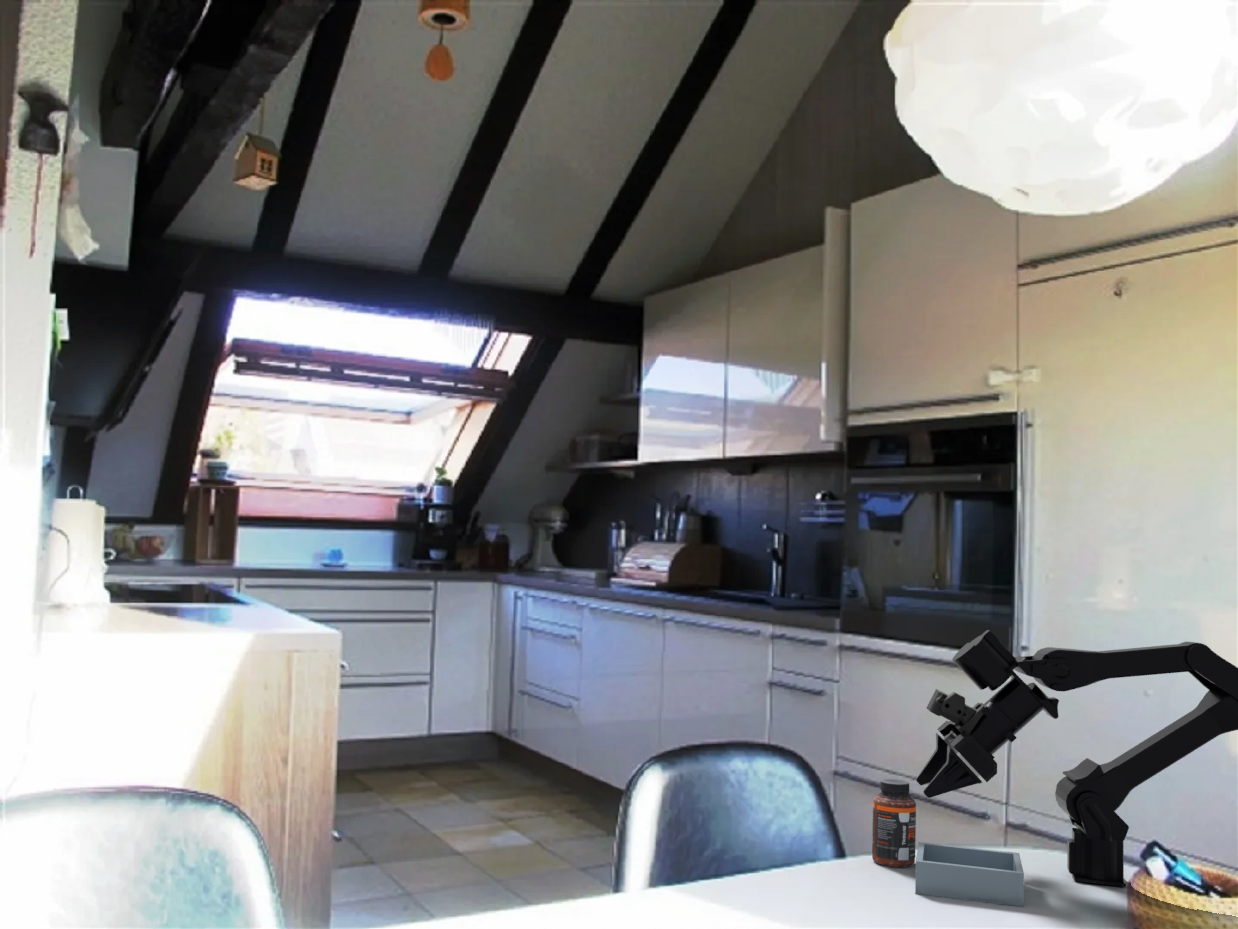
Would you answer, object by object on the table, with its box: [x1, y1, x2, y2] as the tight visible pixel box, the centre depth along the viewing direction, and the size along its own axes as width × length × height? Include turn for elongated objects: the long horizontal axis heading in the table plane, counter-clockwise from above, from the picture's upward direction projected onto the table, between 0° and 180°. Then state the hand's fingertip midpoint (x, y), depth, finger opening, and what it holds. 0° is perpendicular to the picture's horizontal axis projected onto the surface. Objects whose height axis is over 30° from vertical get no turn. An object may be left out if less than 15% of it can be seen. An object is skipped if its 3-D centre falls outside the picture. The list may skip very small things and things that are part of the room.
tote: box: [914, 841, 1025, 908], centre depth 142 cm, size 13×11×4 cm
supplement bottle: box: [871, 778, 917, 868], centre depth 154 cm, size 6×6×11 cm
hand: (921, 788), depth 154 cm, fingers open, 9 cm apart
